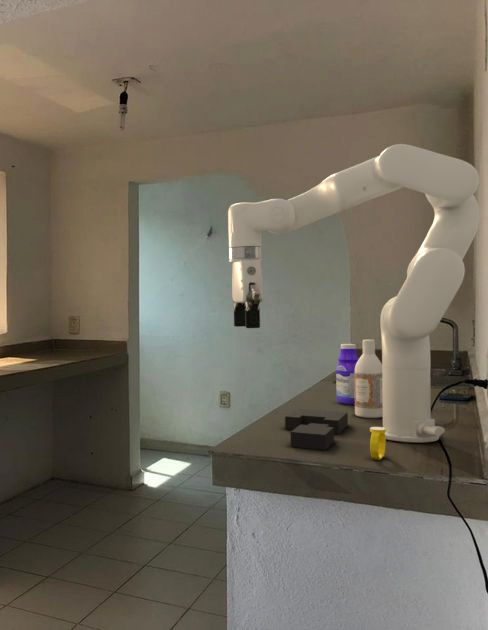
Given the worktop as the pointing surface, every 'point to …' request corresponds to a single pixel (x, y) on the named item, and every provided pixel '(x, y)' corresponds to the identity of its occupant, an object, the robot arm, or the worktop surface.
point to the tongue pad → (312, 436)
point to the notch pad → (316, 419)
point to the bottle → (346, 374)
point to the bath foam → (368, 383)
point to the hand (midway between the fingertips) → (246, 327)
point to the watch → (377, 442)
